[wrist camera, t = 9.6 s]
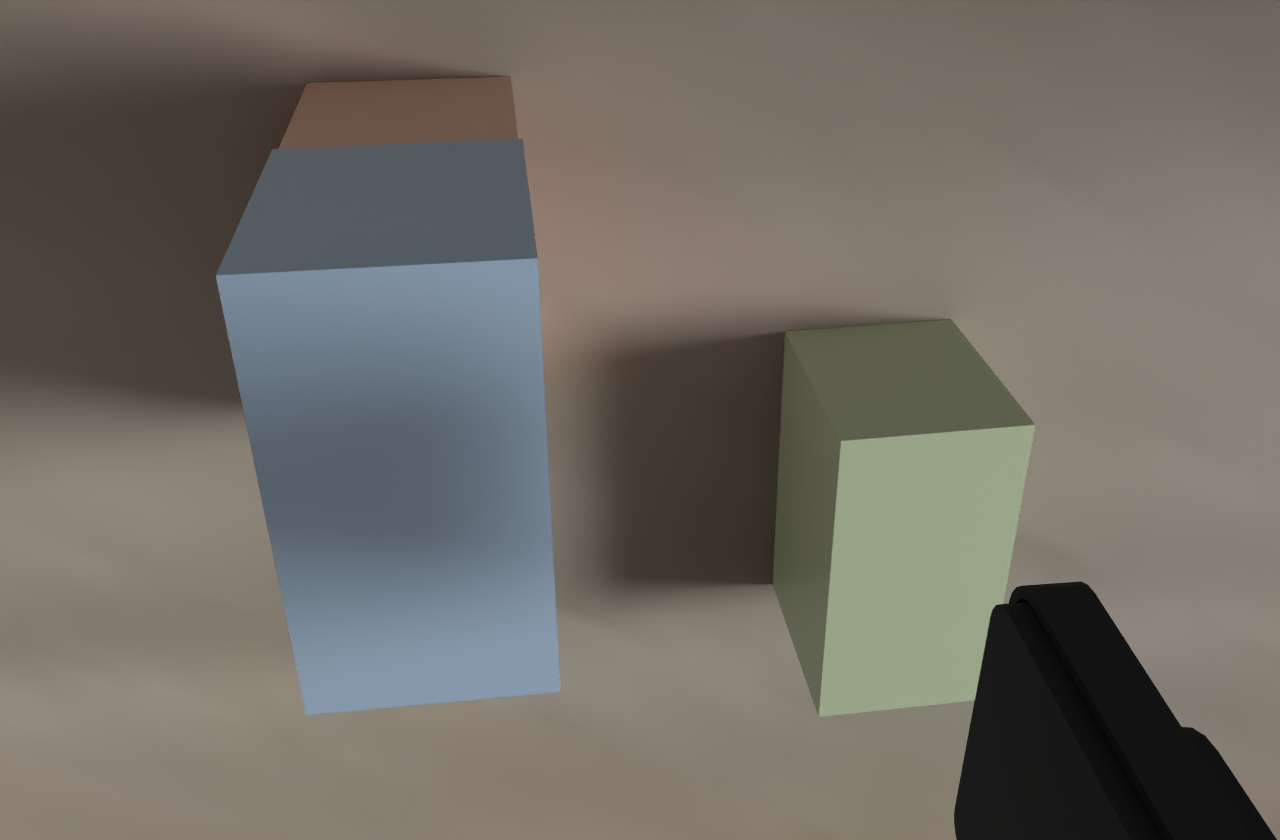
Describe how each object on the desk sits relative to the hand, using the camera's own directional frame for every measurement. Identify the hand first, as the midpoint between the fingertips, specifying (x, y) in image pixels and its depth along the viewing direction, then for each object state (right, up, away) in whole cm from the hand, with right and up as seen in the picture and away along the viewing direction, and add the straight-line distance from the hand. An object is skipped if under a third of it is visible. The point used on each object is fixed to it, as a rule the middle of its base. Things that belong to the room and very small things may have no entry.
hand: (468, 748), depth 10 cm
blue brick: (-2, +4, +7) cm, 8 cm away
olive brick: (+6, +2, +14) cm, 15 cm away
